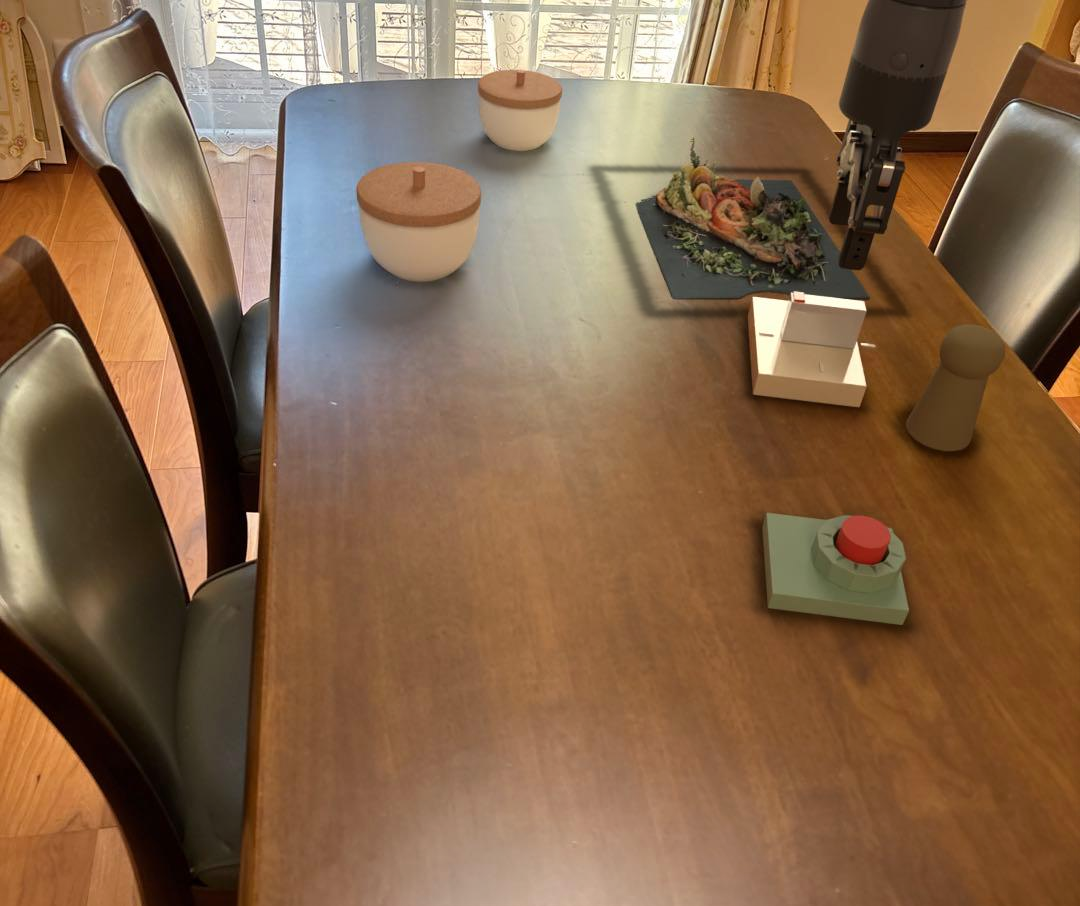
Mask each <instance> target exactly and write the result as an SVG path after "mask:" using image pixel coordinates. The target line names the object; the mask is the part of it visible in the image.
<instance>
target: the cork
mask: <svg viewBox="0 0 1080 906" xmlns="http://www.w3.org/2000/svg"><path fill="white" fill-rule="evenodd" d="M1005 347H1006V346H1005V342H1004V339H1002V337H1001V336H1000V335H999V334H997V333H996V332H995V331H994V330H992V329H989V328H988V327H985V326H983V325H977V324H968V323H967V324H966V323H965V324H960V325H959V324H958V325H956V326H955V327H953V328H951V329H950V330H949V331H948V332H947V333H946V334H945V336H944V337H943V339H942V340H941V342H940V346H939V360H940V362H939V365H937V367H936V369H935V371H934V373H933V375H932V376H931V378H930V380H929V381H928V383H927V385H926V386H925V388H924V390H923V392H922V394H921V395H920V397H919V399H918V400H917V402H916V404H915V406H913V409H912V410H911V412H910V414H909V416H908V417H907V419H906V421H905V428H906V431H907V432H908V434H909V435H910V436H911V437H912V438H913V439H914V440H915V441H916V442H918V443H920V444H921V445H923V446H925V447H928V448H930V449H933V450H937V451H942V452H956V451H962V450H964V449H965V448H967V447H969V445H970V443H971V442H972V438H973V434H974V430H975V427H976V423H977V420H978V416H979V413H980V410H981V405H982V403H983V398H984V394H985V391H986V387H987V384H988V380H989V377H990V376H991V375H992V374H993V375H994V373H996V372H997V370H998V369H999V368H1000V367H1001V366H1002V363H1003V361H1004V359H1005V354H1006V348H1005Z"/></svg>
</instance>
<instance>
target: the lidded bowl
mask: <svg viewBox="0 0 1080 906" xmlns="http://www.w3.org/2000/svg"><path fill="white" fill-rule="evenodd" d="M356 201H357V204H358V213H359V214H358V215H359V223H360V228H361V232H362V236H363V239H364V242H365V245H366V247H367V249H368V251H369V254H371V256H372V258H373V259H374V261H376V263H377V264H378V265H380V266H381V267H382V268H383V269H384V270H385V271H387V272H388V273H390V274H391V275H393V276H395V277H396V278H399V279H402V280H406V281H410V282H411V281H412V282H432V281H437V280H441V279H444V278H446V277H447V276H450V275H451V274H453V273H454V272H456V271H457V270H458V269H459V268H460V267H461V266H462V265H463V264H464V263H465V262H466V260H468V258H469V256H470V254H471V252H472V251H473V248H474V246H475V242H476V240H477V236H478V235H477V234H478V228H479V224H480V206H481V204H482V203H481V202H482V189H481V186H480V184H479V183H478V181H477V180H476V179H475V178H474V177H473V176H471V175H470V174H468V173H467V172H465V171H463V170H461V169H458V168H456V167H453V166H449V165H445V164H441V163H436V162H435V163H434V162H427V161H426V162H425V161H404V162H396V163H391V164H386V165H383V166H380V167H377V168H374V169H372V170H370V171H369V172H367V173H365V174H364V175H363V176H362V177H360V179H359V180H358V182H357V184H356Z"/></svg>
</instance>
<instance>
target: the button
mask: <svg viewBox="0 0 1080 906" xmlns="http://www.w3.org/2000/svg"><path fill="white" fill-rule="evenodd" d="M851 516H852V517H849V518H847V519H846V520H845V521H844V522H843V524H842V527H841V529H840V532H839V535H838V537H837V540H836V547H837V549H838V551H839V552H840V554H841V555H842V556H843V557H845V558H847V559H849V560H851V561H853V562H855V563H858V564H866V565H872V564H876V563H878V562H879V561H881V560H882V558H883V557H884V554H885V552H886V550H887V547H888V545H889V542H890V540H891V535H890V532H889V530H888V528H889V527H888V526H886V525H885V524H884V523H883V522H881V521H880V520H878V519H876V518H874V517H870V516H867V515H851ZM887 527H888V528H887Z"/></svg>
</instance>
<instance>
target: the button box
mask: <svg viewBox="0 0 1080 906" xmlns="http://www.w3.org/2000/svg"><path fill="white" fill-rule="evenodd" d="M852 516H853V515H850V514H849V515H847V514H844V515H840V516H836V517H832V518H829V519H822V518H813V517H806V516H798V515H791V514H790V515H789V514H781V513H775V512H774V513H773V512H766V513H765V517H764V520H763V524H762V527H761V529H762V544H763V557H764V558H763V559H764V572H765V588H766V589H765V590H766V602H767V608H768V609H774V610H781V611H788V612H789V611H790V612H798V613H805V614H813V615H820V616H828V617H836V618H844V619H851V620H859V621H867V622H868V621H869V622H875V623H883V624H891V625H899V626H903V625H904V623H905V620H906V619H907V616H908V614H909V613H910V607H909V603H908V598H907V594H906V588H905V584H904V579H903V574H902V570H903V567H904V564H905V563H906V560H907V556H906V552H905V547H904V543H903V541H902V540H901V539H900V538H899V537H898V536H897V535H896V534H895V533H894V530H893V528H892V527H888V526H886V527H887V528H888V530H889V532H890V535H891V540H890V542H889V545H888V547H887V550H886V552H885V554H884V557H883V558H882V560H881V561H879V562H878V563H876V564H872V565H866V564H858V563H855V562H853V561H851V560H849V559H847V558H845V557H843V556H842V555H841V554H840V552H839V551H838V549H837V547H836V540H837V537H838V535H839V532H840V529H841V527H842V524H843V522H844V521H845V520H846V519H847V518H849V517H852Z"/></svg>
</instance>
